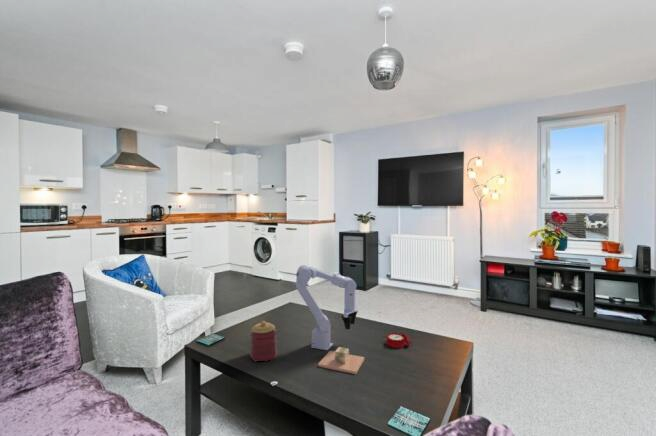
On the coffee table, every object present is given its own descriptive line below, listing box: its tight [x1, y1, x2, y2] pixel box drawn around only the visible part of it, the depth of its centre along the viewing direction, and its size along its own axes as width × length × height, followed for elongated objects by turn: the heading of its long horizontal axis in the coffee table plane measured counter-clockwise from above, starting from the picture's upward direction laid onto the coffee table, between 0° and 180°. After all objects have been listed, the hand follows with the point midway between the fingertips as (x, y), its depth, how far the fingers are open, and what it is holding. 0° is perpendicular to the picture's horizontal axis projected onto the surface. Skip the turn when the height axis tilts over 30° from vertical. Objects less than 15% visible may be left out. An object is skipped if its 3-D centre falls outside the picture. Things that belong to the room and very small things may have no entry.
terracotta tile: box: [317, 350, 365, 375], centre depth 146 cm, size 18×14×1 cm
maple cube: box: [334, 346, 350, 364], centre depth 146 cm, size 5×5×5 cm
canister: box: [249, 320, 278, 362], centre depth 153 cm, size 13×13×18 cm
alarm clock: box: [382, 332, 414, 349], centre depth 166 cm, size 10×6×15 cm
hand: (349, 326), depth 166 cm, fingers open, 7 cm apart
